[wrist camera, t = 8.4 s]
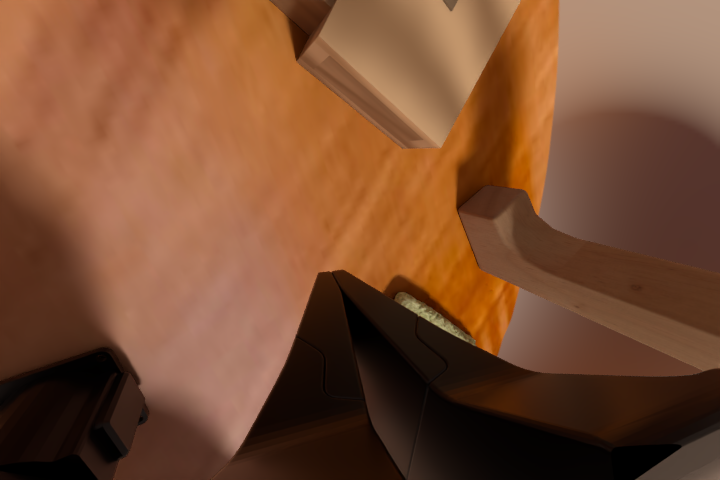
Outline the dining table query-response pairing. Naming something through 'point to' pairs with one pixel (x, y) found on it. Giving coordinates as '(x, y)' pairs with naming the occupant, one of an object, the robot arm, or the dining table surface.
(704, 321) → the wooden block
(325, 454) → the robot arm
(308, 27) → the box with sliding lid
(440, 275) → the dining table surface
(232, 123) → the dining table surface
